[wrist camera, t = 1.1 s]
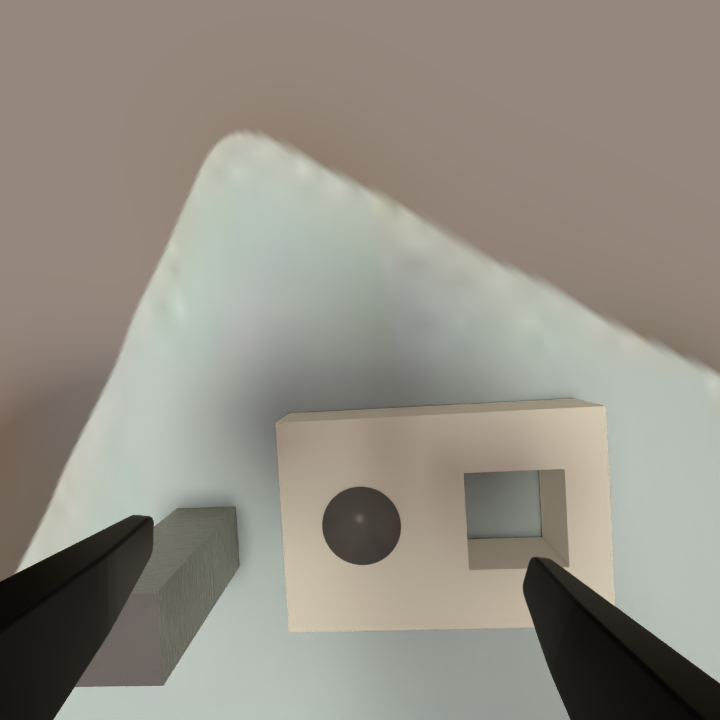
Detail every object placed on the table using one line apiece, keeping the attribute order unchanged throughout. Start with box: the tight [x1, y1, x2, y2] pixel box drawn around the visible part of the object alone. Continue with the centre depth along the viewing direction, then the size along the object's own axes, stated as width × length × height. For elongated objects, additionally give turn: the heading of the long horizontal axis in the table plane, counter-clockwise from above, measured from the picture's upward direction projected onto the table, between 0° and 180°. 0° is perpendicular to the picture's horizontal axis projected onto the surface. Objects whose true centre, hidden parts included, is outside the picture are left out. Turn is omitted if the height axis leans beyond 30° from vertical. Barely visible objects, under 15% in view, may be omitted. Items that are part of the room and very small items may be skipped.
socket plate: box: [275, 398, 615, 633], centre depth 20 cm, size 12×18×3 cm, turn 94°
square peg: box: [75, 506, 240, 687], centre depth 18 cm, size 4×4×8 cm
